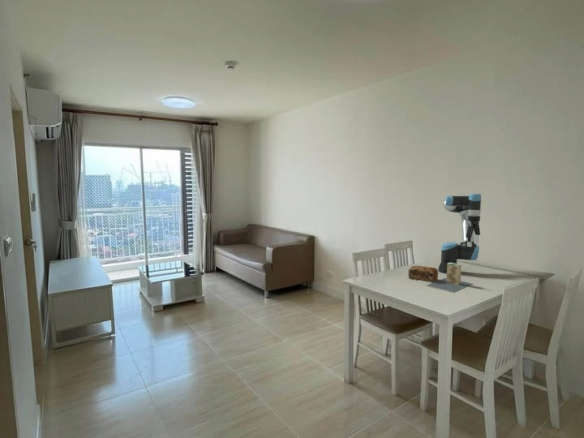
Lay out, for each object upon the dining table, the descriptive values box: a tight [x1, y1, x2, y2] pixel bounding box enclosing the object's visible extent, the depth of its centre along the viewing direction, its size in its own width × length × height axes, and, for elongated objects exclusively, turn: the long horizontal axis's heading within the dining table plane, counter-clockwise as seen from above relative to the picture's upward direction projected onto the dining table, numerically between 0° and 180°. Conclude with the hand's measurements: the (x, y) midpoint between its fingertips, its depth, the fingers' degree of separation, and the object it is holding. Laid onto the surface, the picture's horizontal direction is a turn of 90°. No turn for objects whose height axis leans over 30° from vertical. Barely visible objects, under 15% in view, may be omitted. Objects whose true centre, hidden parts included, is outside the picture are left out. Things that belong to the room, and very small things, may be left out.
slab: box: [446, 263, 462, 285], centre depth 238 cm, size 8×4×14 cm, turn 39°
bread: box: [407, 265, 439, 283], centre depth 250 cm, size 19×11×10 cm, turn 44°
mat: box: [425, 277, 473, 294], centre depth 236 cm, size 20×28×1 cm
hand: (472, 245), depth 241 cm, fingers open, 13 cm apart
